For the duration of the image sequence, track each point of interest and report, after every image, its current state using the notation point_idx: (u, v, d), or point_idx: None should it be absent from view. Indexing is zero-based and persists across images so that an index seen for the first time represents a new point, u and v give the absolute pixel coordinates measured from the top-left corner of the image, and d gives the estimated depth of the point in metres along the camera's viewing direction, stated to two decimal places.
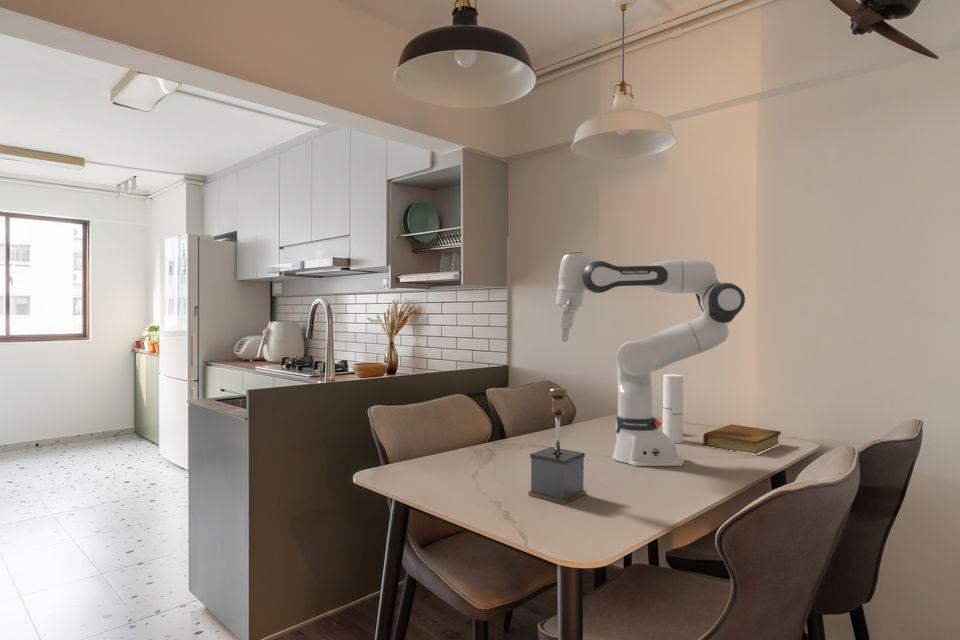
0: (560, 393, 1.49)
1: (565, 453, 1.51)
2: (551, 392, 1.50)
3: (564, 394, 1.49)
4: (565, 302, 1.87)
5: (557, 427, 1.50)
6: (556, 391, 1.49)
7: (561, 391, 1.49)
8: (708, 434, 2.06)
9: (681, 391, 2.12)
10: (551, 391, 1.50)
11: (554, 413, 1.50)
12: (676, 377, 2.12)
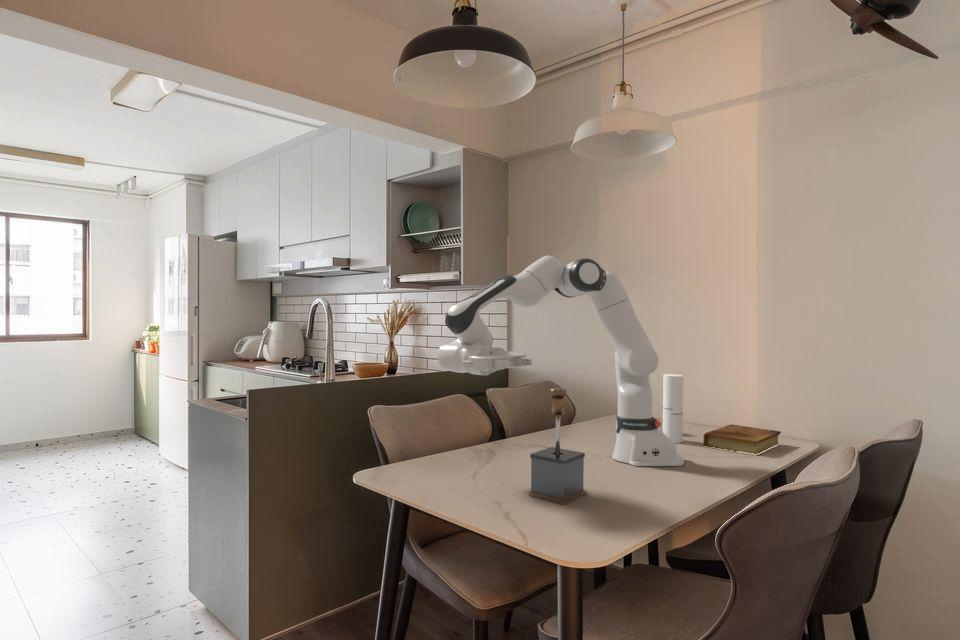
0: (560, 393, 1.49)
1: (565, 453, 1.51)
2: (551, 392, 1.50)
3: (564, 394, 1.49)
4: None
5: (557, 427, 1.50)
6: (556, 391, 1.49)
7: (561, 391, 1.49)
8: (708, 434, 2.06)
9: (681, 391, 2.12)
10: (551, 391, 1.50)
11: (554, 413, 1.50)
12: (676, 377, 2.11)
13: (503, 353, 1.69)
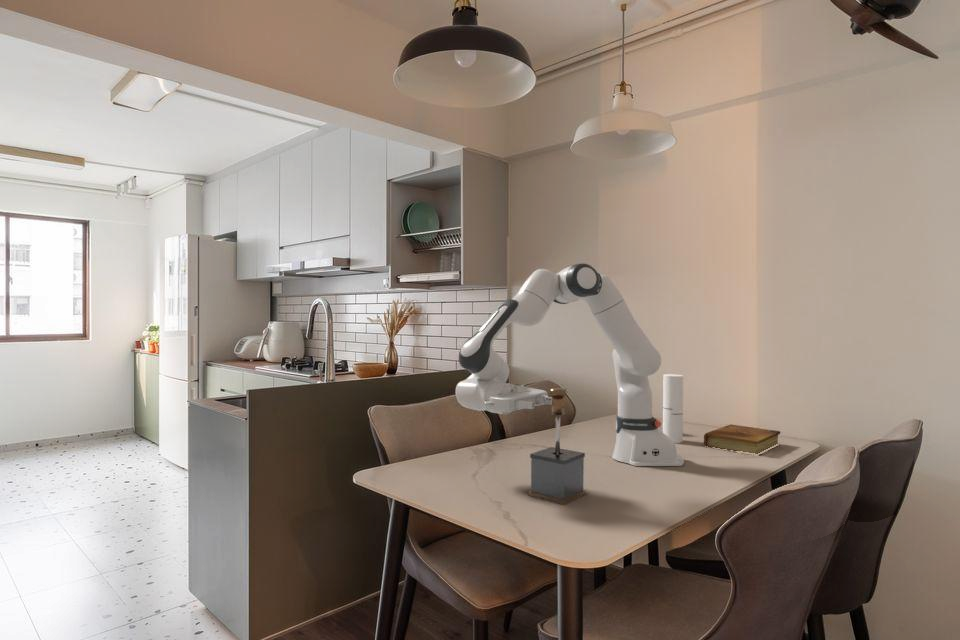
0: (560, 393, 1.49)
1: (565, 453, 1.51)
2: (551, 392, 1.50)
3: (564, 394, 1.49)
4: None
5: (557, 427, 1.50)
6: (556, 391, 1.49)
7: (561, 391, 1.49)
8: (709, 434, 2.05)
9: (681, 391, 2.12)
10: (551, 391, 1.50)
11: (554, 413, 1.50)
12: (676, 377, 2.12)
13: (523, 390, 1.65)
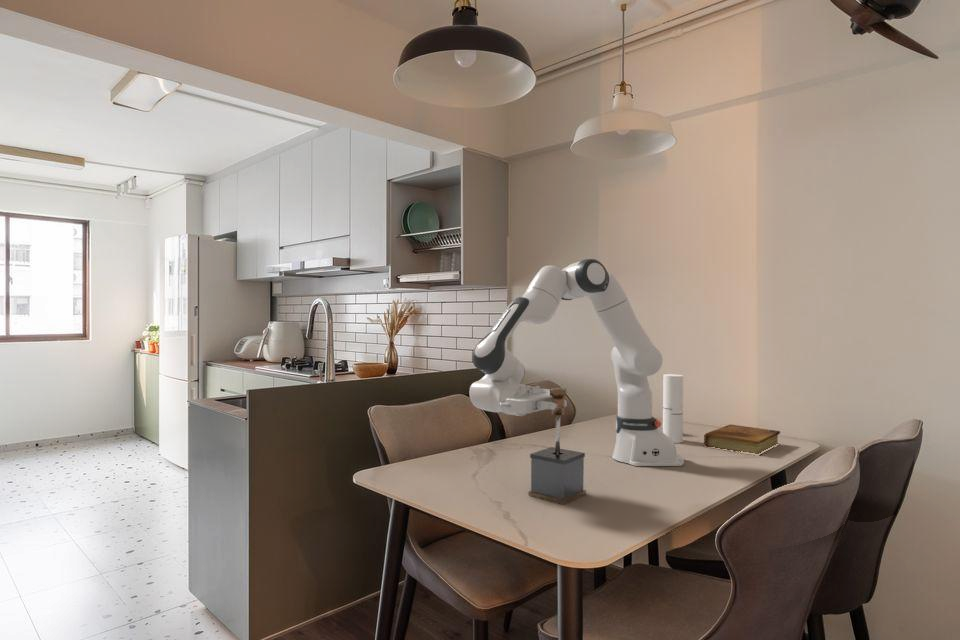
0: (560, 393, 1.49)
1: (565, 453, 1.51)
2: (551, 392, 1.50)
3: (564, 394, 1.49)
4: None
5: (557, 427, 1.50)
6: (556, 391, 1.49)
7: (561, 391, 1.49)
8: (709, 434, 2.05)
9: (681, 391, 2.12)
10: (551, 391, 1.50)
11: (554, 413, 1.50)
12: (676, 377, 2.12)
13: (539, 392, 1.61)
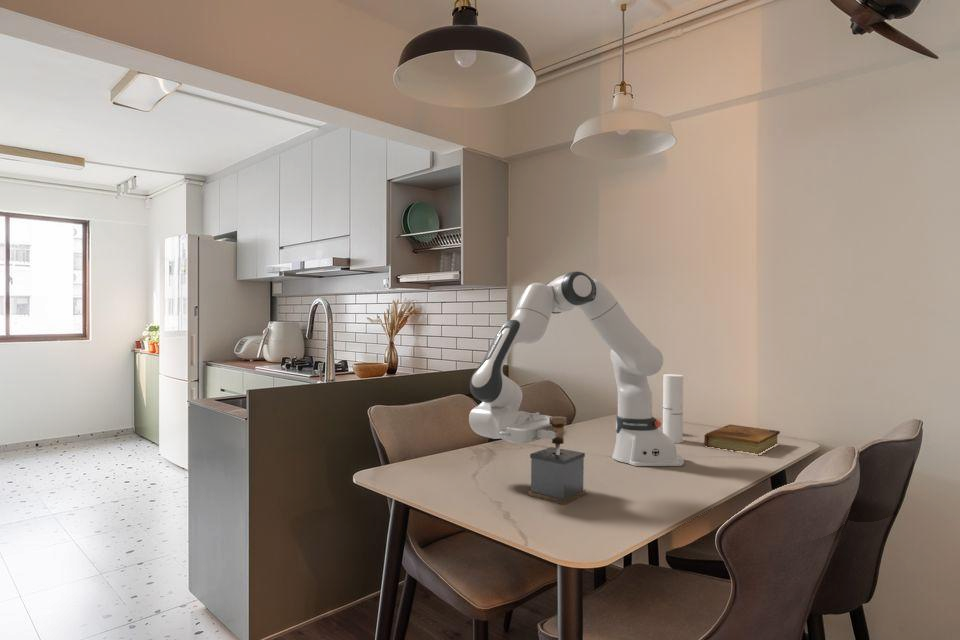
0: (560, 422, 1.49)
1: (565, 453, 1.51)
2: (551, 421, 1.50)
3: (564, 423, 1.49)
4: None
5: None
6: (556, 420, 1.49)
7: (561, 420, 1.49)
8: (709, 434, 2.05)
9: (681, 391, 2.12)
10: (551, 420, 1.50)
11: (554, 442, 1.50)
12: (676, 377, 2.12)
13: (539, 418, 1.61)
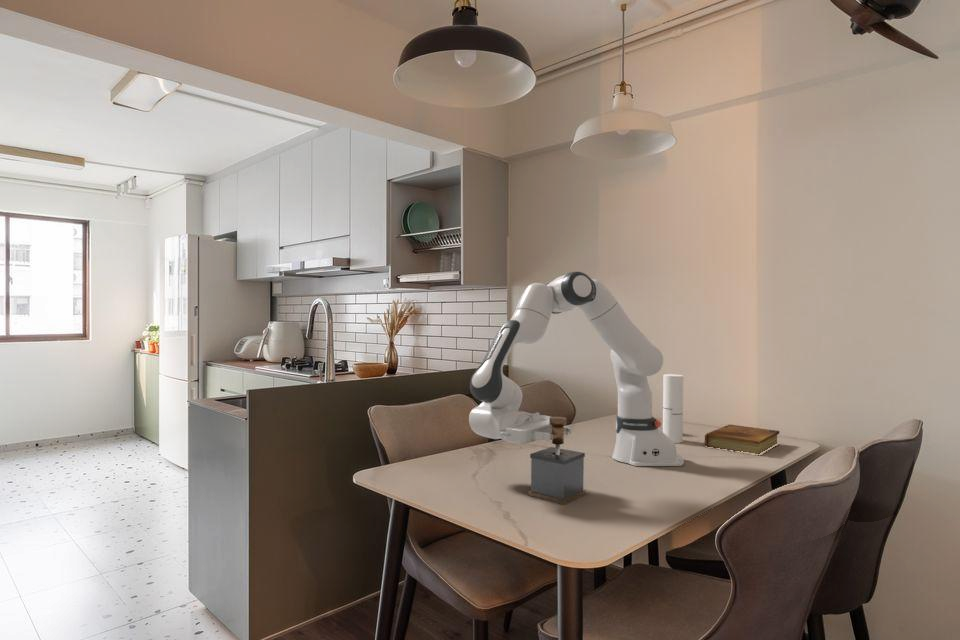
0: (560, 422, 1.49)
1: (565, 453, 1.51)
2: (551, 421, 1.50)
3: (564, 423, 1.49)
4: None
5: None
6: (556, 420, 1.49)
7: (561, 420, 1.49)
8: (710, 435, 2.05)
9: (681, 391, 2.12)
10: (551, 420, 1.50)
11: (554, 442, 1.50)
12: (676, 377, 2.11)
13: (539, 419, 1.61)
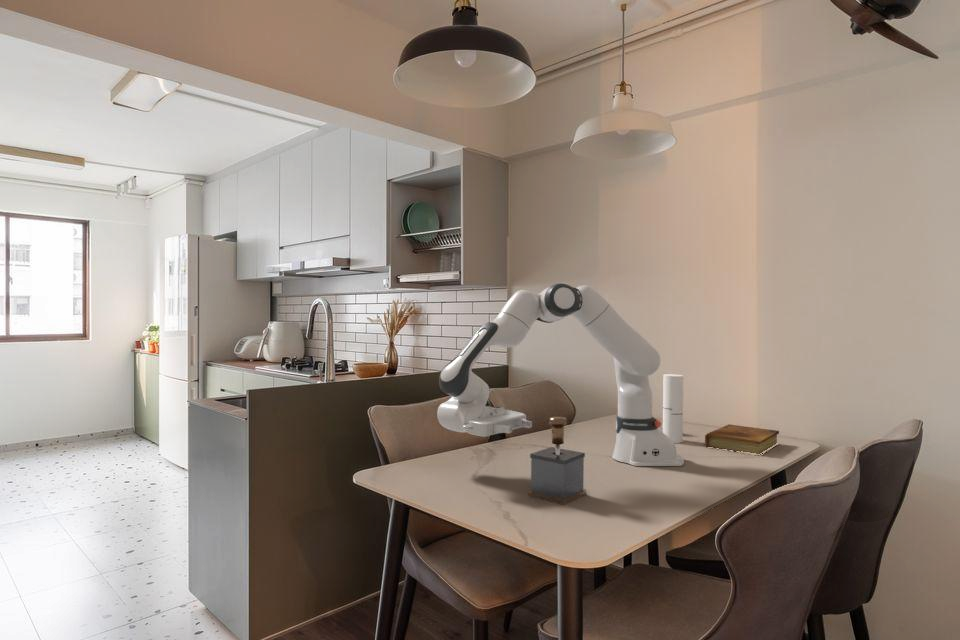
0: (560, 422, 1.49)
1: (565, 453, 1.51)
2: (551, 421, 1.50)
3: (564, 423, 1.49)
4: None
5: None
6: (556, 420, 1.49)
7: (561, 420, 1.49)
8: (710, 435, 2.05)
9: (681, 391, 2.12)
10: (551, 420, 1.50)
11: (554, 442, 1.50)
12: (676, 377, 2.12)
13: (503, 413, 1.69)
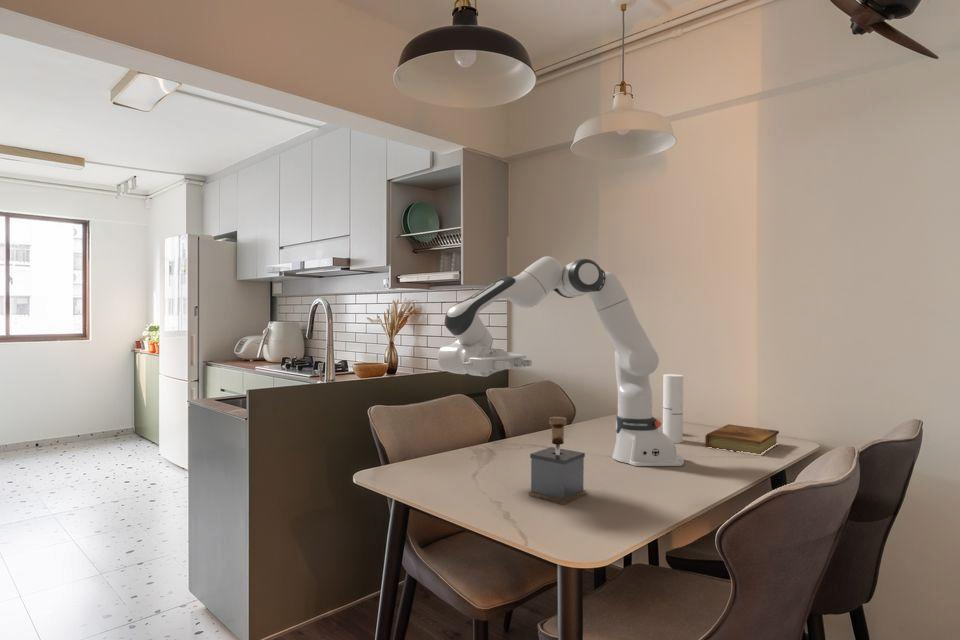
0: (560, 422, 1.49)
1: (565, 453, 1.51)
2: (551, 421, 1.50)
3: (564, 423, 1.49)
4: None
5: None
6: (556, 420, 1.49)
7: (561, 420, 1.49)
8: (710, 435, 2.05)
9: (681, 391, 2.12)
10: (551, 420, 1.50)
11: (554, 442, 1.50)
12: (676, 377, 2.12)
13: (503, 354, 1.69)
